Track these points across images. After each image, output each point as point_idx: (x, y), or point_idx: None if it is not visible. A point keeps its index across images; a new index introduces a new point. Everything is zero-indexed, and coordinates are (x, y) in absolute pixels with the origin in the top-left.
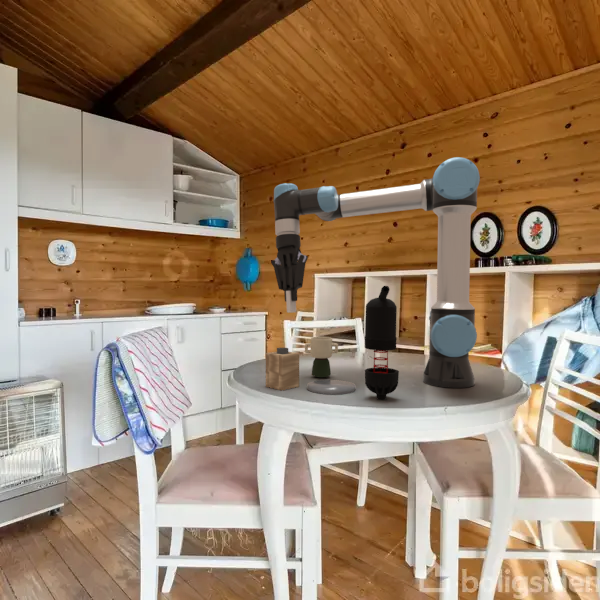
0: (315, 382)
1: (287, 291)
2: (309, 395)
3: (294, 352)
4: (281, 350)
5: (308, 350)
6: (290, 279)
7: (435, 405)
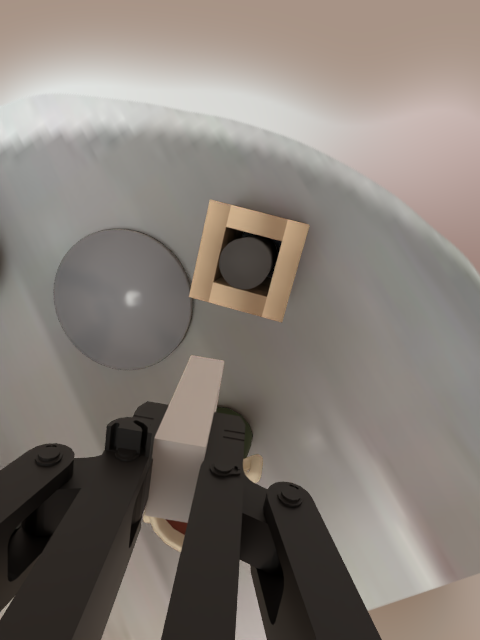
0: (172, 308)
1: (185, 439)
2: (136, 195)
3: (213, 302)
4: (236, 239)
5: (248, 463)
6: (94, 532)
7: None
